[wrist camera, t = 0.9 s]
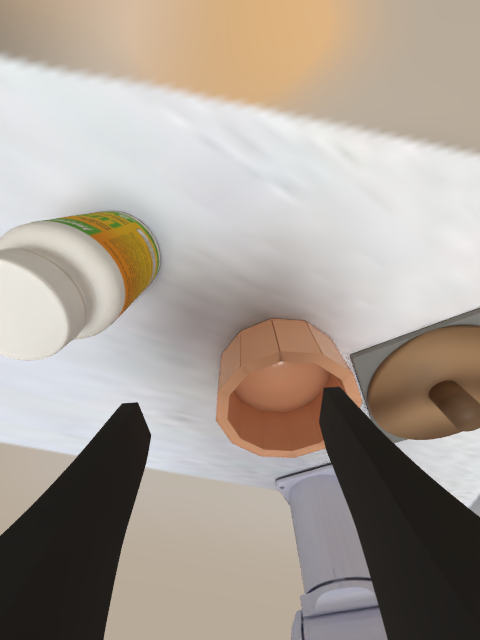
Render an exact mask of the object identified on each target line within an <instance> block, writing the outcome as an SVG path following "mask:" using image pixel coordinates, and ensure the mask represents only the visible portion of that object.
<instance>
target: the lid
mask: <svg viewBox="0 0 480 640" xmlns="http://www.w3.org/2000/svg"><path fill="white" fill-rule="evenodd" d="M367 403H368V408H369V410H370V412H371V414H372V416H373V417H374V419H375V420H376V422H377V423H378V425H379V426H380V427H381V428H383V429H384V430H385V431H387V432H388V433H390V434H392V435H395V436H398V437H401V438H406V439H413V440H428V439H436V438H442V437H446V436H450V435H453V434H456V433H459V432H462V431H473V430H476V429H478V428H480V326H477V325H451V326H446V327H441V328H437V329H434V330H431V331H428V332H425V333H423V334H421V335H418V336H416V337H414V338H412V339H411V340H409V341H407V342H406V343H404V344H402V345H401V346H399V347H398V348H397V349H396V350H394V351H393V352H392V353H391V354H390V355H389V356H388V357H386V358H385V359H384V361H383V362H382V363H381V364H380V365H379V367H378V368H377V370H376V371H375V373H374V374H373V376H372V378H371V380H370V383H369V386H368V391H367Z"/></svg>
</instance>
